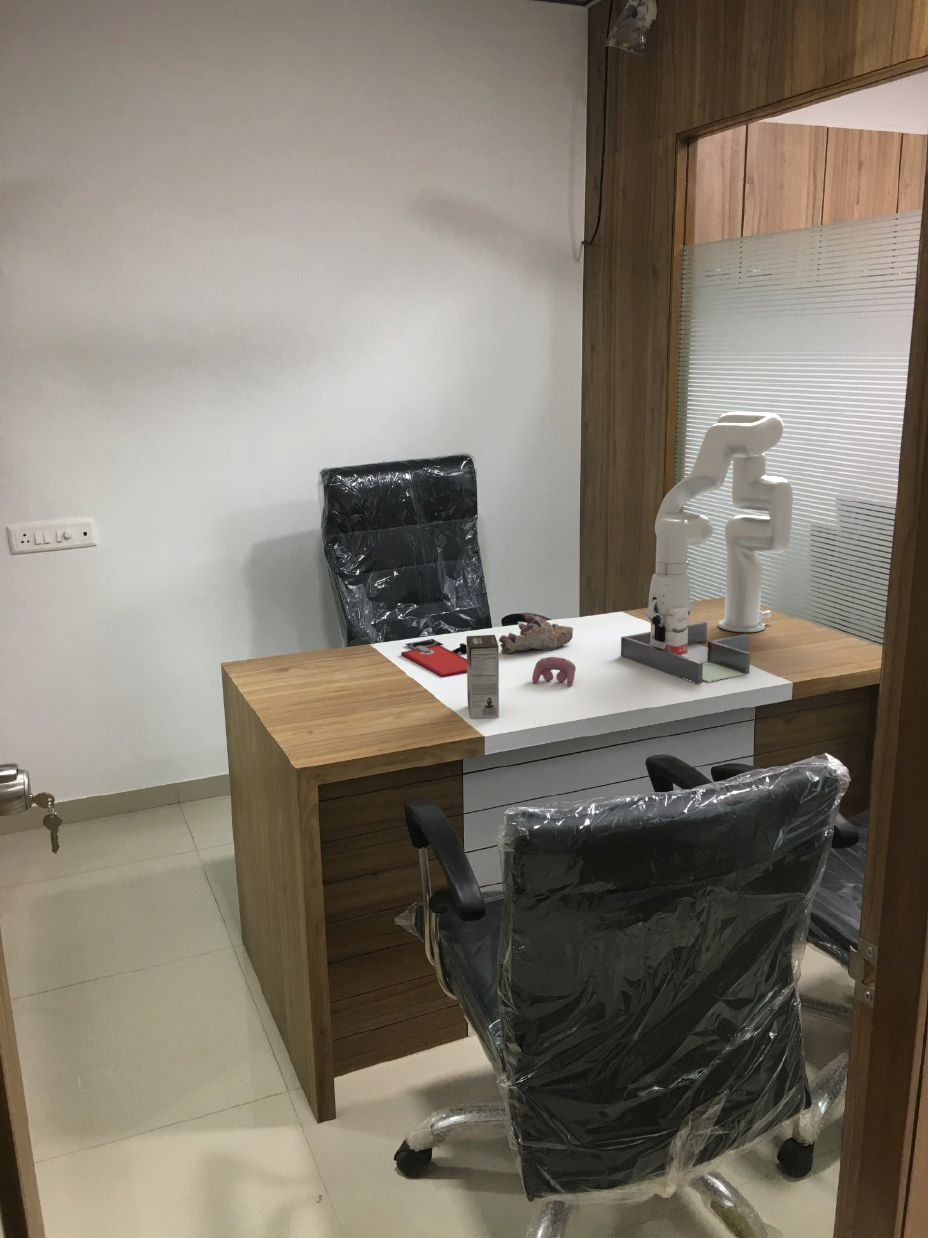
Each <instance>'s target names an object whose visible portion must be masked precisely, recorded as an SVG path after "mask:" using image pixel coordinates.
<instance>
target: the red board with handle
mask: <svg viewBox="0 0 928 1238" xmlns="http://www.w3.org/2000/svg"><path fill="white" fill-rule="evenodd" d="M405 645H406V646H408V647H410V648H411V650H407V651H401V652H400V654H401V656H402V657H403V658H405V659H407V660H408V661H410V662H413V663H414V664H416V665H418V666H420V667H422V668H424V669H425V670H427V671H429V672H431V673H433V674H435V675H436V676H438V677H440V678H447V677H452V676H459V675H464V674H467V658H465V657H464V656H461V655H459V653H460V654H462V655H467V643H459V647H457V648H455V649H452V650H450V649H448V648H446V647H444V643H442V642H440V641H438V640H435V639H434V638H430V639H426V640H425V639H423V640H419V641H413V642H409V643H405Z"/></svg>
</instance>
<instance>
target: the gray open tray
mask: <svg viewBox="0 0 928 1238" xmlns="http://www.w3.org/2000/svg"><path fill="white" fill-rule="evenodd" d="M707 630H708V621H707V622H706V621H701V622H700V621H699V622H695V623H690V624H689V623H688V645H692V644H696V643H701V642H706V641H707V633H708V632H707ZM650 638H651V631H647V632H641V633H635V634H630V635H626V636H625V635H624V636H621V637H620V639H621V641H620V657H623V658H625V659H628V660H631V661H634V662H637V663H639V664H643V665H644V666H647V667H650V668H652V669H655V670H657V671H661V672H663V673H666V674H670V675H672V676H674V675H675V677H676V678H677V677H678V678H680V679H682V678H685V679H688V680H691V681H693V682H695V683H694V684H696V683H702V684H703V681H702V673H703V664H704V663H703V662H702V661H700V660H695V659H692V658H690V657H687V656H685V655H678V654H675V653H673V652H670V651H667V650H664V649H661V648H658V647H655V646H652V645H650ZM749 647H750V634H747V633H744V634H743V633H742V634H737V635H735V636H728V637H724V638H718V639H714V640H709V641H707V653H706V654H707V656H706V658H707V659H706V660H708V661H707V662H709V663H713V664H716V665H719V666H722V667H725V668H727V667H728V669H731V670H734V671H737V672H740V673H743V674H749V673H750V667H751V652H750V651H749V649H750V648H749ZM685 679H684V680H685ZM688 680H687V681H688ZM691 681H690V682H691ZM693 682H692V683H693Z"/></svg>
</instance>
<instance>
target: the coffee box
mask: <svg viewBox="0 0 928 1238" xmlns="http://www.w3.org/2000/svg"><path fill="white" fill-rule="evenodd" d="M466 646H467V654H466V659H467V673H466V681H467V682H466V685H467V686H466V688H467V689H466V690H467V693H466V694H467V708H468V713H469V717H470V719H471V720H475V719H476V720H477V719H481V720H482V719H496V718H497V719H498V718H500V711H499V710H500V708H499V707H500V699H499V698H500V690H499V689H500V687H499V684H500V681H499V680H500V678H499V675H500V674H499V673H500V672H499V671H500V668H499V667H500V666H499V663H500V661H499V660H500V657H499V655H500V653H499V650H500V649H499V647H500V645H499V643H498V640H497V636H496V635H495V634H485V635H484V634H482V635H480V634H479V635H467V636H466Z"/></svg>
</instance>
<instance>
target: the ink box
mask: <svg viewBox="0 0 928 1238" xmlns="http://www.w3.org/2000/svg"><path fill="white" fill-rule="evenodd" d="M655 611H656V610H655ZM655 611H654V615H655ZM660 617H661V616H659V620H660ZM688 625H689V615H688V608H676V609H670V610H669V614H668V615H666V617H665V621H664V624H663V626H664V627H665V641H664V642H660V641H657V640H655V639H654V635H655V625H653V623H652V622H651V621H650V632H651V638H650V645H652V646H655V647H658V648H661V649H664V650H667V651H670V652H673V653H675V654H678V655H681V656H684V655H685V654H688V645H689V644H688Z"/></svg>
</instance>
